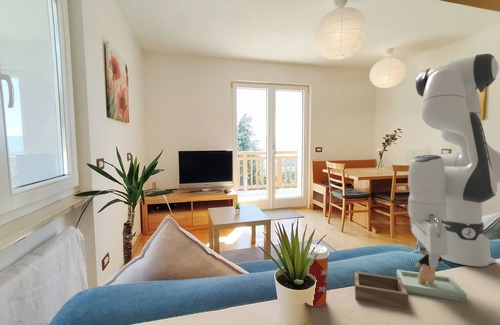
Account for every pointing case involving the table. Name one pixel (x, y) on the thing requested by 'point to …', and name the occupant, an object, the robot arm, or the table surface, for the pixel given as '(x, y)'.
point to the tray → (432, 286)
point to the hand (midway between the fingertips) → (427, 259)
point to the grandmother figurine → (426, 270)
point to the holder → (380, 289)
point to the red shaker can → (319, 273)
